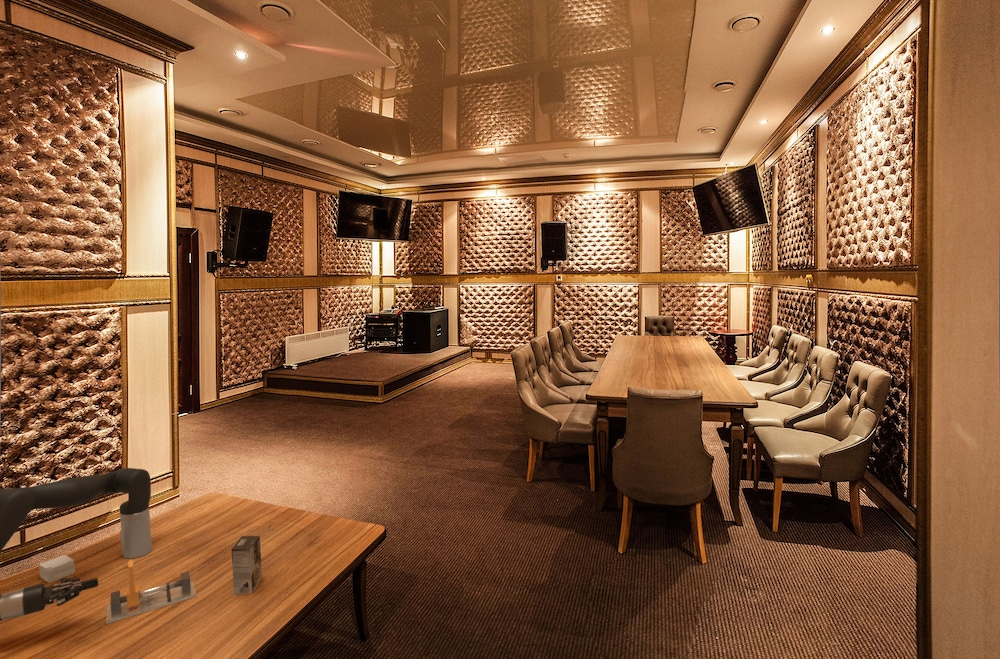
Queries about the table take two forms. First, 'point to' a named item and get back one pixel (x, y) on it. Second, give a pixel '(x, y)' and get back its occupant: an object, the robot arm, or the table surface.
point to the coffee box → (246, 564)
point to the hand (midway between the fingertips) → (97, 581)
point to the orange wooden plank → (132, 587)
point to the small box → (56, 568)
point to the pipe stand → (151, 599)
